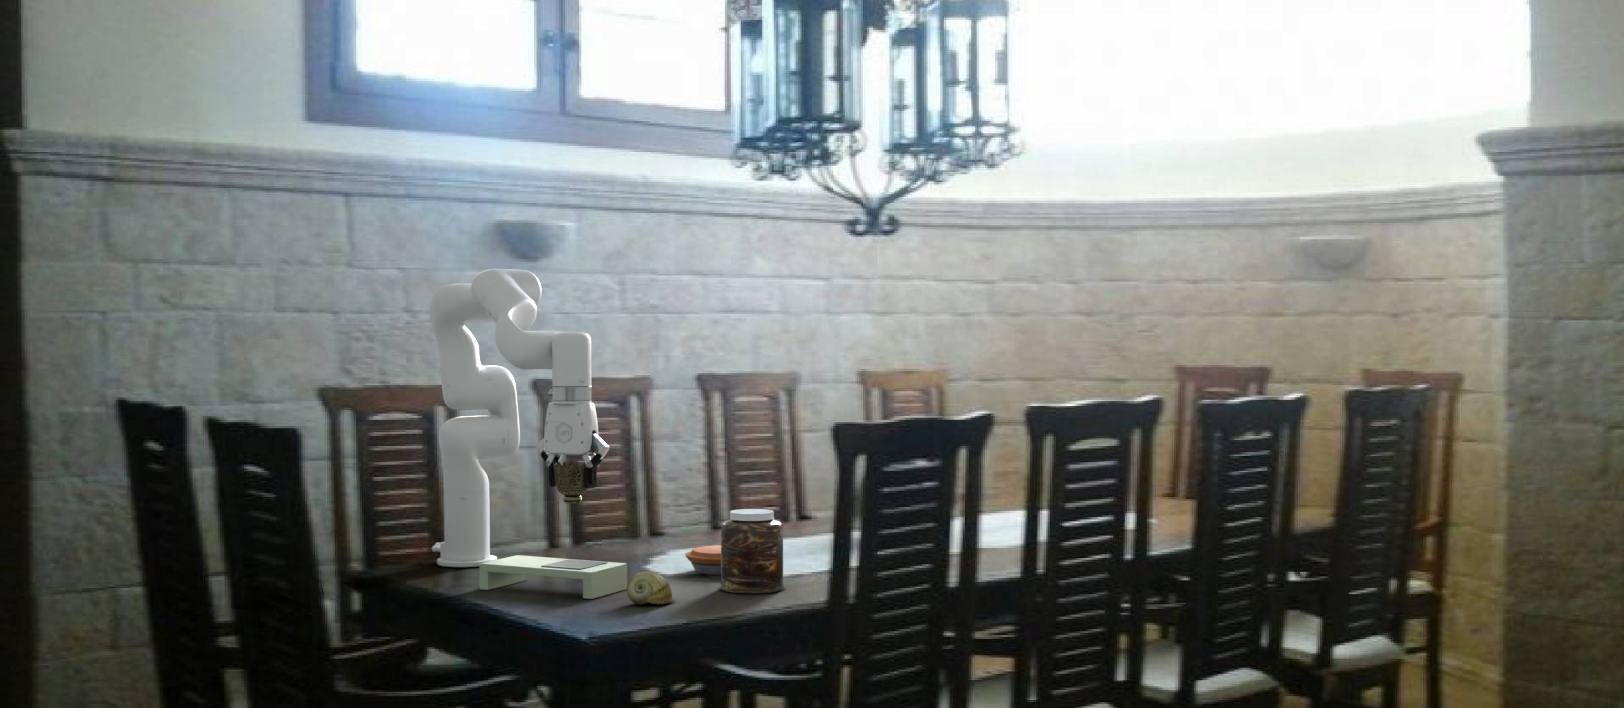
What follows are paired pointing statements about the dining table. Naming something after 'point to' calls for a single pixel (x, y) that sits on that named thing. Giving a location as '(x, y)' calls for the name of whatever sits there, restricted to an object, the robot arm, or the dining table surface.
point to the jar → (751, 552)
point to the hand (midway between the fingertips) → (572, 486)
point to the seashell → (649, 589)
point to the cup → (570, 481)
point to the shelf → (556, 573)
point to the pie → (706, 559)
